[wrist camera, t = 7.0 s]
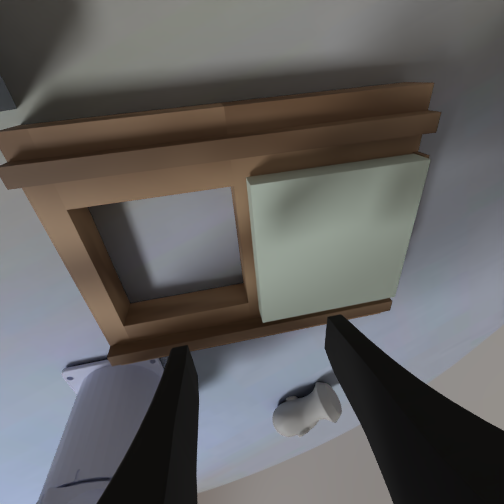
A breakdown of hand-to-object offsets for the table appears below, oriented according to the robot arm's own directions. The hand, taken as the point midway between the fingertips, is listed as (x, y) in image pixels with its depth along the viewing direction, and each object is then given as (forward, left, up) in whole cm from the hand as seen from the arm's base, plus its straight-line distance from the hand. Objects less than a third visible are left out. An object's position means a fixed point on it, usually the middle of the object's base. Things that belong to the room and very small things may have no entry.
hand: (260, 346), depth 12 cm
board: (0, 0, -10) cm, 10 cm away
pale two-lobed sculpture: (-24, -5, -10) cm, 27 cm away
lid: (0, -6, -7) cm, 9 cm away
